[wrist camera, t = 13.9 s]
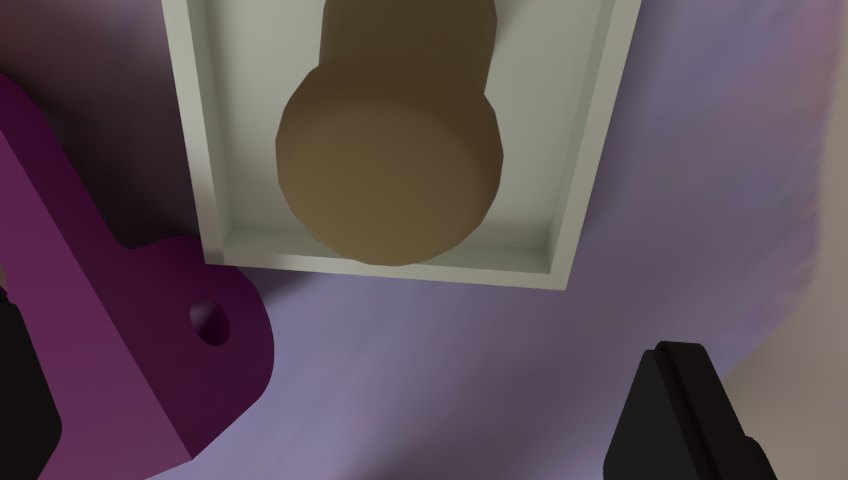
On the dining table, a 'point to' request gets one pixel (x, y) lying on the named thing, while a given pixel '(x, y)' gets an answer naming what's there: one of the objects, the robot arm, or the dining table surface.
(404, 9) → the cork
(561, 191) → the tray
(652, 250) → the dining table surface
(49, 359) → the mounting bracket
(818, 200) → the dining table surface
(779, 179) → the dining table surface
